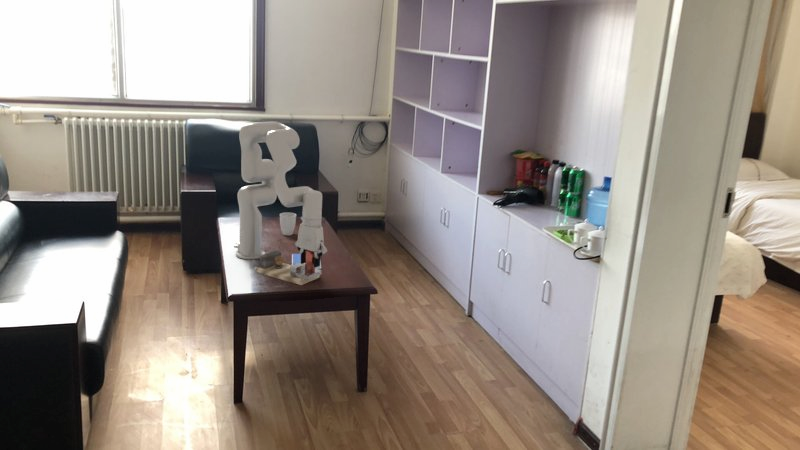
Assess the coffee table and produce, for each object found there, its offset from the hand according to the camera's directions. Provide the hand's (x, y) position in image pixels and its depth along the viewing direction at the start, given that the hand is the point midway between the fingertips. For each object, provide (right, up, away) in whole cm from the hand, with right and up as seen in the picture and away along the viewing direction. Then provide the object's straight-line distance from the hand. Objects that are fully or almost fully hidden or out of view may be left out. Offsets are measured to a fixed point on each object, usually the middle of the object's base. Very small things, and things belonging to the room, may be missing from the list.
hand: (310, 264), depth 274 cm
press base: (-10, -5, +7) cm, 13 cm away
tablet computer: (-5, -1, +24) cm, 25 cm away
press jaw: (-2, -4, +2) cm, 5 cm away
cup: (-20, +11, +63) cm, 67 cm away
